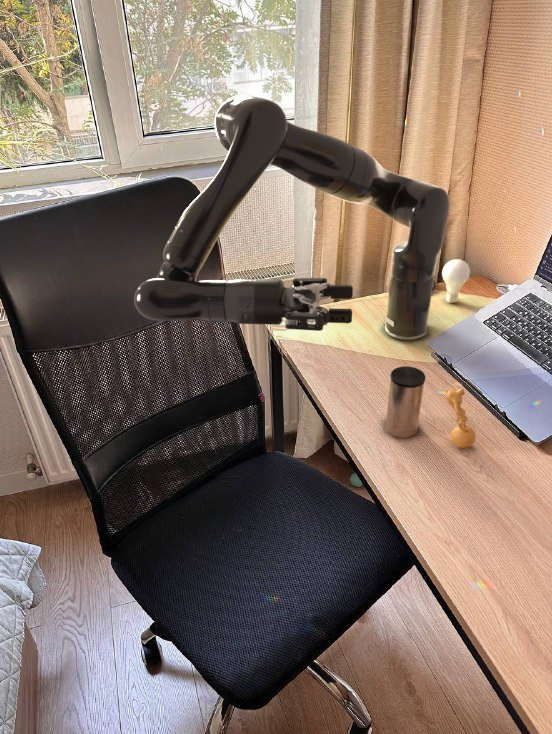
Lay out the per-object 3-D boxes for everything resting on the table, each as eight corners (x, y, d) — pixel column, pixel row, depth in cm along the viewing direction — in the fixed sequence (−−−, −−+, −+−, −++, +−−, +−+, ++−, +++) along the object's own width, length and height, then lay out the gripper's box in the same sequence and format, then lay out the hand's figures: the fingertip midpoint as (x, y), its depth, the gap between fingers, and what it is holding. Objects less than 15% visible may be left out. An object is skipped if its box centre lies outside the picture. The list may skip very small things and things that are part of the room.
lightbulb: (469, 301, 145) (476, 259, 139) (456, 310, 141) (464, 267, 135) (445, 294, 149) (452, 253, 142) (433, 303, 145) (439, 261, 139)
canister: (384, 417, 109) (390, 365, 103) (416, 419, 109) (424, 366, 102) (385, 437, 105) (391, 384, 98) (418, 439, 104) (427, 385, 97)
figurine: (478, 461, 99) (491, 404, 92) (441, 460, 99) (452, 403, 92) (468, 430, 105) (480, 375, 98) (434, 429, 106) (443, 374, 99)
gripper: (247, 300, 90) (353, 302, 88) (259, 263, 101) (353, 264, 99) (249, 342, 95) (350, 345, 92) (261, 302, 106) (351, 304, 104)
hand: (352, 303), depth 96 cm, fingers open, 8 cm apart
